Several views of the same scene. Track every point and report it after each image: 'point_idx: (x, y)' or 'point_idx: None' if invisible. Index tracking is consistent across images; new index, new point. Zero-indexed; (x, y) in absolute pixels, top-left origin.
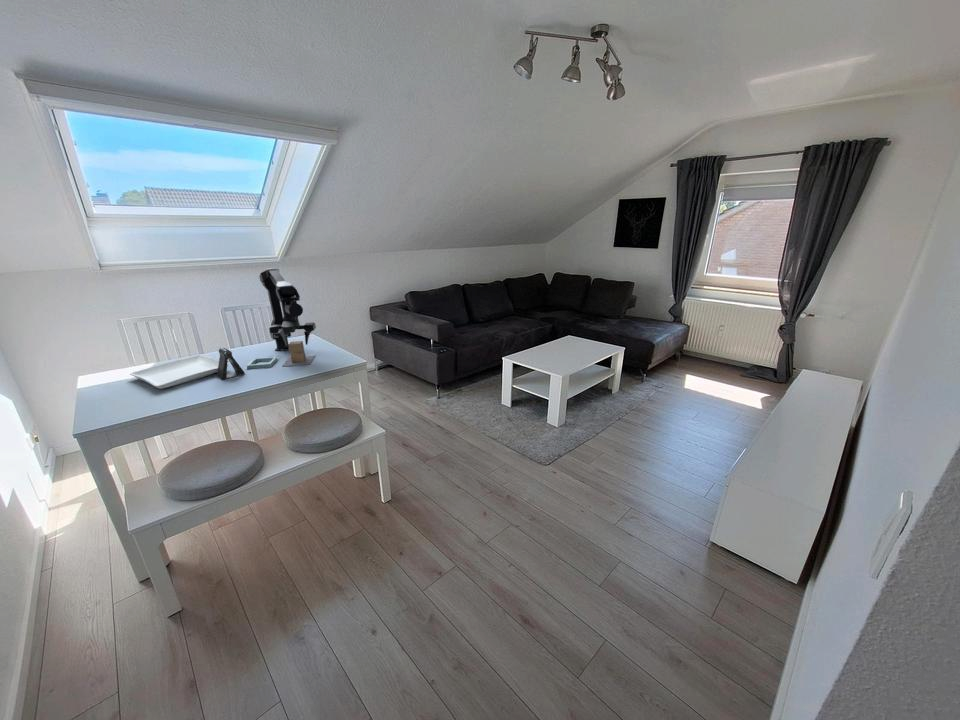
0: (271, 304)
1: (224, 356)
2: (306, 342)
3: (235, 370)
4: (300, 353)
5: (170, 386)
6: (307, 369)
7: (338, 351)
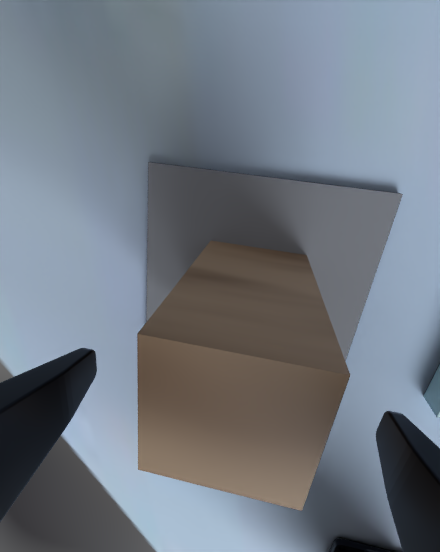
0: None
1: None
2: (53, 366)
3: None
4: (203, 269)
5: None
6: (150, 9)
7: None
